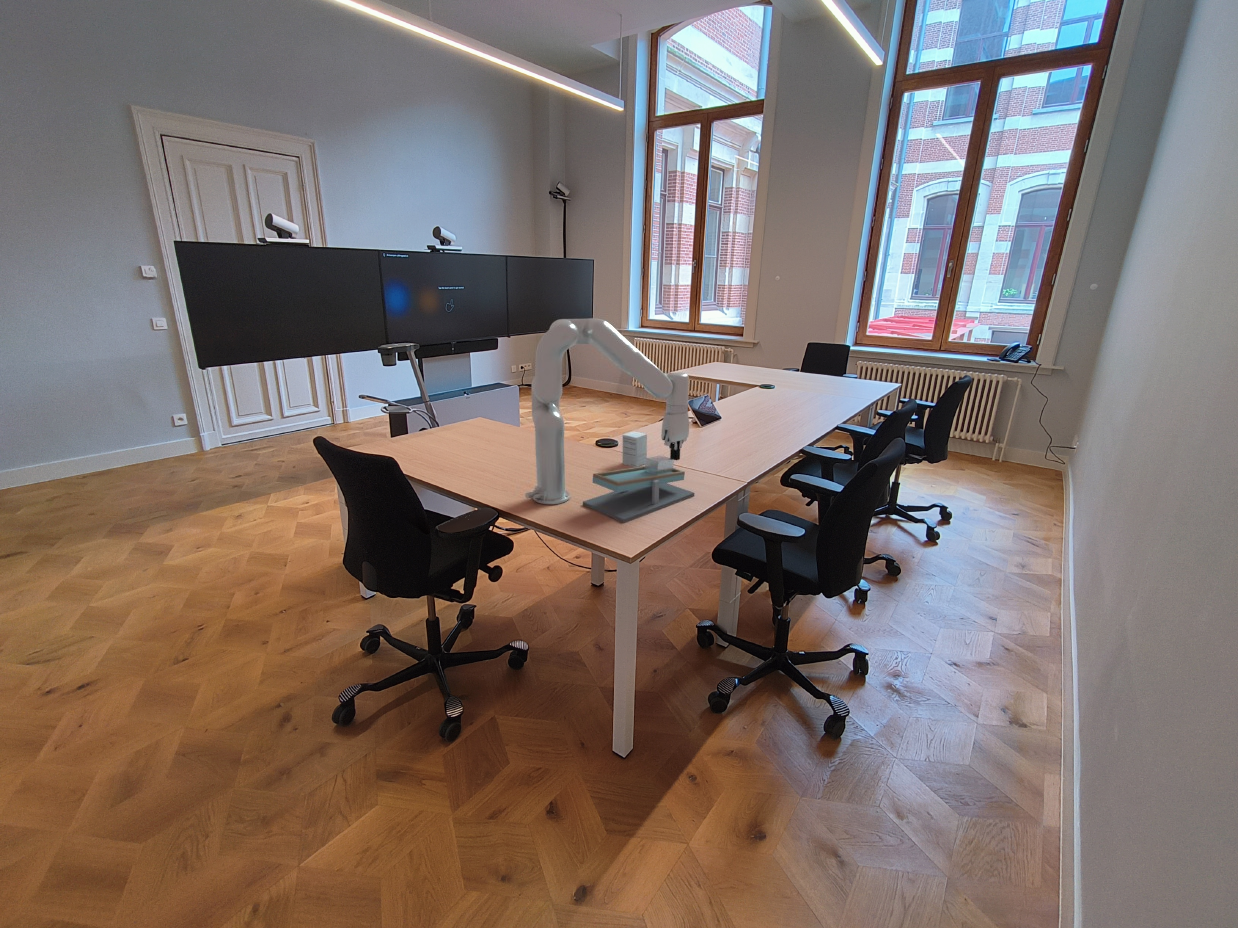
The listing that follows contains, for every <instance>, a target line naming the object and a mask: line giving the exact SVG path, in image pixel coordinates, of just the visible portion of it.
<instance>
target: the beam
mask: <svg viewBox="0 0 1238 928" xmlns="http://www.w3.org/2000/svg"><path fill="white" fill-rule="evenodd" d="M644 470H645V465H641V466H638V467H629V468H622V469H616V470H610V471H603V472H596V473H593V474H592V484H595V485H598V486H600V487H603V488H606V489H608V490H610V491H612V492H614V491H615V492H622V491H627V490H633V489H638V488H643V487H649V486H652V481H655V480H659V484H665V483H667V484H669V483H673V482H680V481H685V473H686V471H685V470H681V469H678V468H675V467H673V473H668V474H662V475H653V474H650V473H647V472H644Z"/></svg>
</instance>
